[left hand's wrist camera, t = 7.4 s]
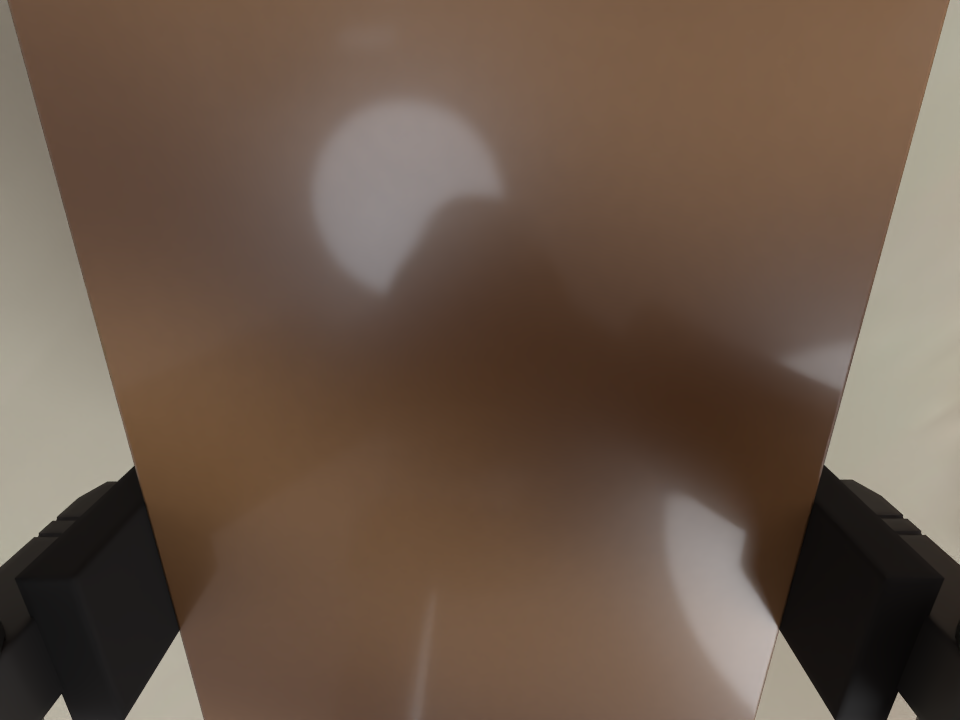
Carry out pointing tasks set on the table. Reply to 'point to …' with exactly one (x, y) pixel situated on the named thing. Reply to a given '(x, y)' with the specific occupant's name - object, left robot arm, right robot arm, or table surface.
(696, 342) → the wooden box
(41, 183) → the table surface
